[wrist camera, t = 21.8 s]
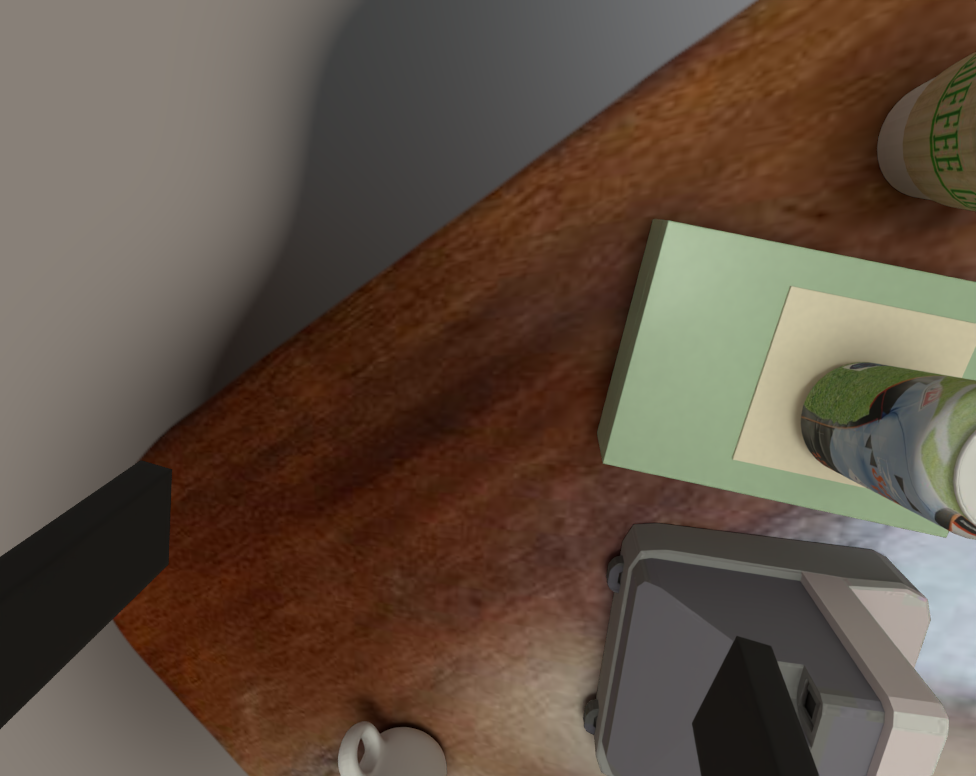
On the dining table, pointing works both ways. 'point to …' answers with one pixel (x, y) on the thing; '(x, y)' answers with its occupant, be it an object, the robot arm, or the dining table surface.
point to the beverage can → (899, 437)
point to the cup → (390, 753)
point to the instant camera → (769, 620)
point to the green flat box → (767, 361)
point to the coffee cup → (934, 139)
